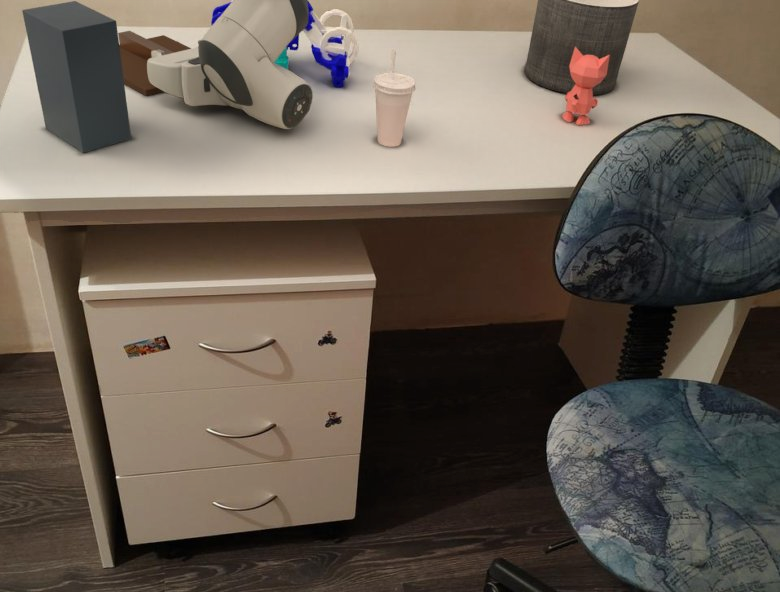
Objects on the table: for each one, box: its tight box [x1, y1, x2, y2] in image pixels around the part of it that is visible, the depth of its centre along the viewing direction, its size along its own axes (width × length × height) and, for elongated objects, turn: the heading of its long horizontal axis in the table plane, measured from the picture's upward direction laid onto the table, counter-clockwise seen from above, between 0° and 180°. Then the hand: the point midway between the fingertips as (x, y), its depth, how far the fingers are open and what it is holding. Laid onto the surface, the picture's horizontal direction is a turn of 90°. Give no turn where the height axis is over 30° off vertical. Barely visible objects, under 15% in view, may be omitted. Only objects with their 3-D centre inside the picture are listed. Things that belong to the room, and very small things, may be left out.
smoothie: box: [372, 49, 416, 148], centre depth 122 cm, size 6×6×14 cm
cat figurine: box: [561, 46, 610, 126], centre depth 136 cm, size 7×7×12 cm
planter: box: [523, 0, 640, 96], centre depth 151 cm, size 18×18×16 cm
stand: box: [21, 0, 132, 154], centre depth 114 cm, size 8×10×17 cm
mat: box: [119, 34, 192, 97], centre depth 141 cm, size 18×20×1 cm
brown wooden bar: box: [118, 30, 174, 61], centre depth 140 cm, size 2×20×2 cm, turn 47°
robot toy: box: [210, 0, 359, 88], centre depth 141 cm, size 16×12×25 cm
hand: (178, 49), depth 135 cm, fingers open, 8 cm apart
